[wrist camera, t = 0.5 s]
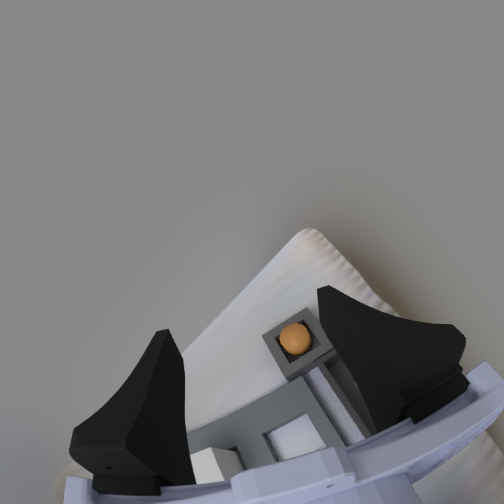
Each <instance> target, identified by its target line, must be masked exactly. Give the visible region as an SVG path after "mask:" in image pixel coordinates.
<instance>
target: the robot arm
mask: <svg viewBox="0 0 504 504" xmlns="http://www.w3.org/2000/svg"><path fill="white" fill-rule="evenodd" d="M317 295H318V306H319V318H320V323H321V325H322V327H323V330H324V332H325V334H326V336H327V338H328V339H329V341H330V342H331V344H332V345H333V347H334V349H335V350H336V352H337V353H338V355H339V356H340V358H341V359H342V361H343V362H344V364H345V365H346V367H347V368H348V370H349V371H350V373H351V375H352V377H353V379H354V381H355V383H356V385H357V387H358V389H359V391H360V393H361V395H362V397H363V400H364V402H365V404H366V406H367V409H368V411H369V413H370V416H371V418H372V421H373V423H374V426H375V428H376V431H377V434H376V435H374V436H371V437H369V438H367V439H365V440H362V441H360V442H358V443H355V444H353V445H350V446H348V447H346V448H344V447H336V446H331V447H327V448H323V449H319V450H316V451H313V452H310V453H307V454H304V455H300V456H297V457H294V458H290V459H287V460H283V461H279V462H276V463H272V464H268V465H264V466H259V467H255V468H251V469H248V470H245V471H241V472H239V473H238V474H236V475H234V476H233V477H232V478H231V480H226V481H219V482H212V483H204V484H197V483H196V479H195V475H194V471H193V467H192V462H191V457H190V452H189V446H188V440H187V433H186V426H185V371H184V363H183V358H182V356H181V354H180V352H179V350H178V348H177V346H176V344H175V342H174V340H173V338H172V335H171V334H170V331H169V329H166V330H161V331H157V332H156V333H155V335H154V337H153V338H152V340H151V342H150V344H149V345H148V347H147V349H146V350H145V352H144V354H143V356H142V357H141V359H140V361H139V362H138V364H137V366H136V367H135V368H134V370H133V371H132V373H131V374H130V376H129V377H128V379H127V380H126V381H125V383H124V384H123V385H122V386H121V387H120V389H119V390H118V391H117V392H116V393H115V394H114V395H113V397H112V398H110V400H109V401H108V402H107V403H106V404H105V405H104V406H103V407H102V408H100V409H99V410H98V411H97V412H96V413H94V414H93V415H92V416H91V417H90V418H88V419H87V420H85V421H84V422H82V423H81V424H80V425H78V426H77V427H75V428H74V430H73V434H72V439H71V444H70V448H69V454H70V455H71V457H72V458H73V459H74V460H75V461H76V462H77V463H78V464H80V465H81V466H82V467H84V468H85V469H87V470H88V471H89V472H91V473H92V474H94V475H93V480H91V479H88V478H84V477H75V476H67V481H66V488H65V495H64V504H422V503H421V501H420V499H419V497H418V495H417V493H416V492H415V490H414V488H413V486H412V484H413V483H415V482H416V481H418V480H419V479H421V478H423V477H424V476H426V475H427V474H429V473H430V472H432V471H433V470H435V469H436V468H437V467H439V466H440V465H442V464H443V463H444V462H446V461H447V460H448V459H450V458H451V457H452V456H454V455H455V454H456V453H458V452H459V451H460V450H462V449H463V448H464V447H465V446H466V445H468V444H469V443H470V442H471V441H473V440H474V439H475V438H476V437H477V436H479V435H480V434H481V433H482V432H483V431H484V430H486V429H487V428H488V427H489V426H490V425H491V424H492V423H493V422H494V421H495V420H496V419H497V417H498V416H499V415H500V413H501V412H502V411H503V409H504V380H503V378H502V377H501V376H500V375H499V374H498V373H497V372H496V371H495V370H494V369H493V368H492V366H491V365H490V364H488V362H487V361H486V360H484V361H482V362H481V363H480V364H479V365H477V366H476V367H475V368H473V369H472V370H471V371H469V372H468V373H467V375H466V376H464V375H463V374H462V373H461V372H462V370H463V368H462V367H461V366H460V365H459V361H460V359H461V357H462V353H463V351H464V348H465V345H466V338H465V336H464V335H463V334H462V333H461V332H460V331H459V330H458V329H457V328H455V327H454V326H453V325H450V324H432V323H424V322H417V321H412V320H407V319H404V318H400V317H396V316H393V315H390V314H387V313H384V312H381V311H379V310H376V309H374V308H372V307H369V306H367V305H365V304H363V303H361V302H359V301H357V300H355V299H353V298H351V297H349V296H347V295H346V294H344V293H342V292H340V291H338V290H337V289H335V288H333V287H331V286H329V285H328V286H325V287H321V288H318V289H317Z"/></svg>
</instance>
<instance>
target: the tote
mask: <svg viewBox="0 0 504 504" xmlns="http://www.w3.org/2000/svg"><path fill="white" fill-rule="evenodd" d="M315 363H316V364H317V366H318V368H319V369H320V371H321V372H322V374H323V375H324V377H325V378H326V380H327V381H328V383H329V384H330V386H331V387H332V389H333V390H334V392H335V394H336V395H337V397H338V398H339V400H340V401H341V403H342V404H343V406H344V407H345V409H346V410H347V412H348V413H349V415H350V416H351V418H352V419H353V421H354V422H355V424H356V425H357V427H358V428H359V430H360V431H361V433H362V434H363V436H364V437H365V439H367V438H369V437H371V436H374V435H376V434H377V431H376V428H375V426H374V423H373V421H372V418H371V416H370V413H369V411H368V409H367V406H366V404H365V402H364V400H363V397H362V395H361V393H360V391H359V389H358V388H357V386H356V384H355V381H354V379H353V377H352V375H351V373H350V371H349V370H348V368H347V367H346V365H345V364H344V362H343V361H342V359H341V358H340V356H339V355H338V353H337V352H336V350H335V349H333V350H331V351H330V352H328V353H327V354H325V355H324V356H322V357H321V358H319V359H318V360H316V361H315Z"/></svg>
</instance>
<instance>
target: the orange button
mask: <svg viewBox="0 0 504 504" xmlns="http://www.w3.org/2000/svg"><path fill="white" fill-rule="evenodd" d="M280 342H281V344H282V346H283V347H284V348H285V349H286V351H287V352H288V353H289V354H290V355H292V356H301V355H304V354H305V353H307V352H308V351H309V350H310V348H311V345H312V339H311V337H310V335H309V333H308V331H307V329H306V328H305V326H303V325H302V324H298V323H293V324H290V325H288V326H286V327H285V328H284V329H283V330H282V332H281V334H280Z"/></svg>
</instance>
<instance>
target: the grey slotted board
mask: <svg viewBox="0 0 504 504" xmlns="http://www.w3.org/2000/svg"><path fill="white" fill-rule="evenodd" d="M305 413H307V415H308V416H309V418H310V420H311V421H312V423H313V425H314V426H315V428H316V430H317V431H318V433H319V435H320V436H321V438H322V440H323V441H324V443H325V445H326V446H327V447H331V446H336V447H344V448H346V447H347V446H346V445H345V443H344V442H343V440H342V439H341V437H340V435H339V434H338V432H337V431H336V429H335V427H334V426H333V424H332V423H331V421H330V419H329V418H328V416H327V415H326V413H325V411H324V410H323V408H322V407H321V405H320V403H319V402H318V400H317V399H316V397H315V395H314V394H313V392H312V390H311V389H310V387H309V386H308V384H307V382H306V381H305V379H304V378H303V377H302V375H301V376H300V377H298V378H296V379H295V380H293V381H291V382H289V383H288V384H286V385H284V386H283V387H281V388H279V389H277V390H276V391H274V392H272V393H270V394H268V395H267V396H265V397H263V398H261V399H259V400H257V401H256V402H254V403H252V404H250V405H248V406H246V407H244V408H242V409H240V410H238V411H236V412H234V413H232V414H230V415H228V416H226V417H224V418H222V419H220V420H218V421H215V422H213V423H211V424H209V425H207V426H204V427H202V428H200V429H198V430H195V431H193V432H191V433H188V434H187V440H188V446H189V452H190V455H192V454H194V453H197V452H199V451H202V450H205V449H207V448H210V447H213V448H218V449H224V450H230V451H231V450H233V449H236V448H237V449H238V451H239V453H240V455H241V457H242V460H243V462H244V464H245V466H246V468H247V470H248V469H251V468H255V467H259V466H264V465H268V464H272V463H276V462H279V461H278V459H277V457H276V455H275V453H274V451H273V449H272V447H271V445H270V443H269V441H268V439H267V437H266V434H268V433H270V432H272V431H274V430H276V429H278V428H280V427H282V426H284V425H286V424H287V423H289V422H291V421H293V420H295V419H297V418H298V417H300V416H302V415H304V414H305Z"/></svg>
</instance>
